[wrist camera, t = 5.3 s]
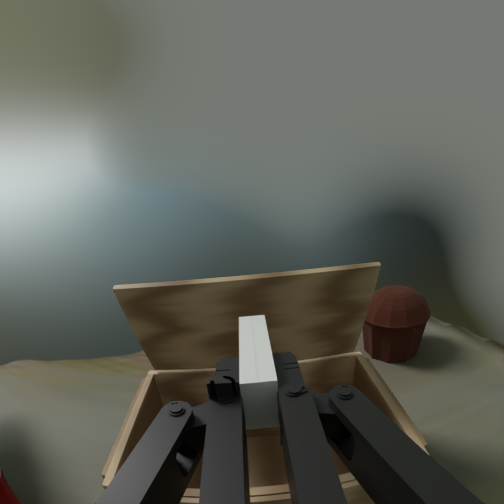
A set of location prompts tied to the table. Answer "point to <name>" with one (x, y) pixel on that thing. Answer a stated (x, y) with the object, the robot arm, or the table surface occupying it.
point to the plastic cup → (6, 492)
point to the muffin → (395, 323)
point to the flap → (249, 314)
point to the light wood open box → (263, 439)
